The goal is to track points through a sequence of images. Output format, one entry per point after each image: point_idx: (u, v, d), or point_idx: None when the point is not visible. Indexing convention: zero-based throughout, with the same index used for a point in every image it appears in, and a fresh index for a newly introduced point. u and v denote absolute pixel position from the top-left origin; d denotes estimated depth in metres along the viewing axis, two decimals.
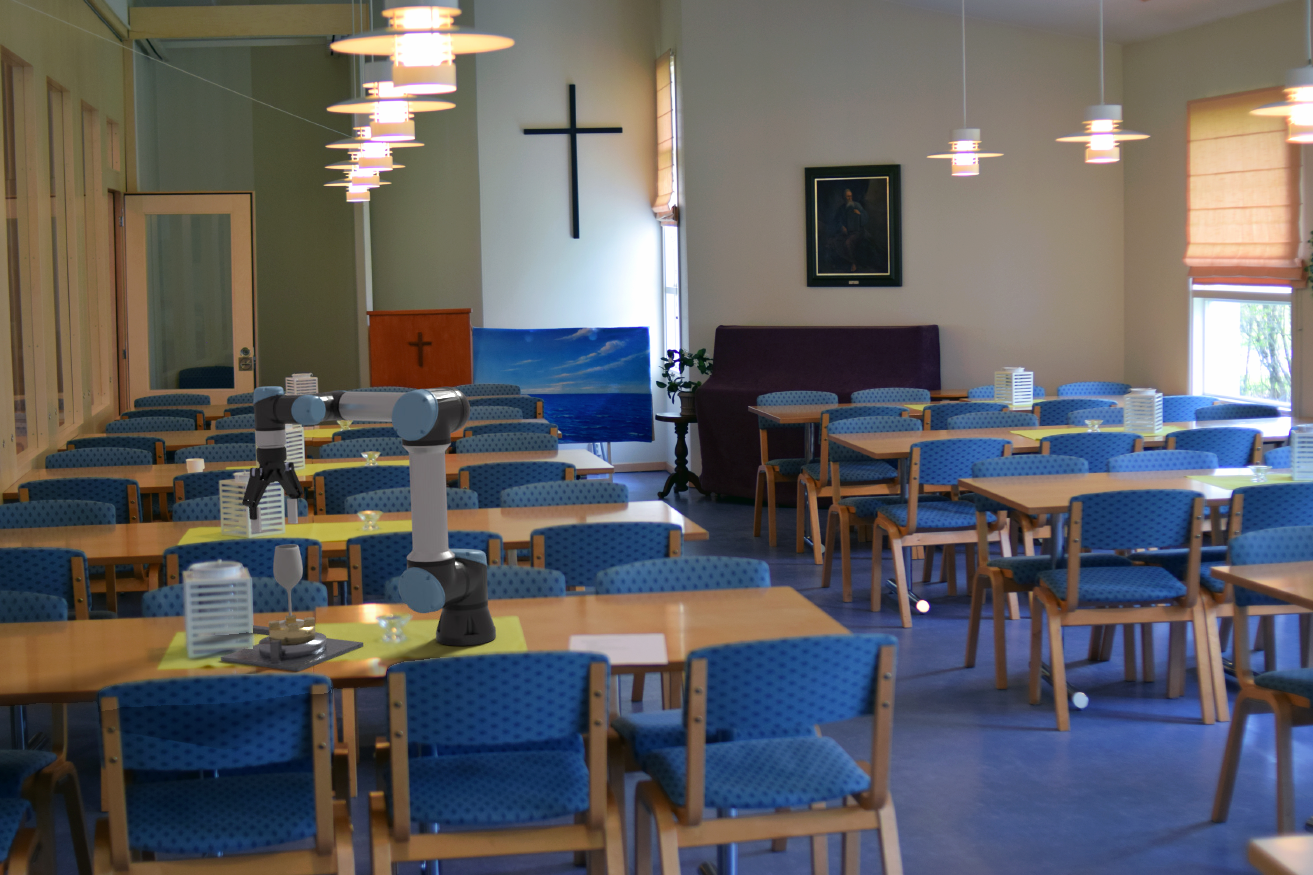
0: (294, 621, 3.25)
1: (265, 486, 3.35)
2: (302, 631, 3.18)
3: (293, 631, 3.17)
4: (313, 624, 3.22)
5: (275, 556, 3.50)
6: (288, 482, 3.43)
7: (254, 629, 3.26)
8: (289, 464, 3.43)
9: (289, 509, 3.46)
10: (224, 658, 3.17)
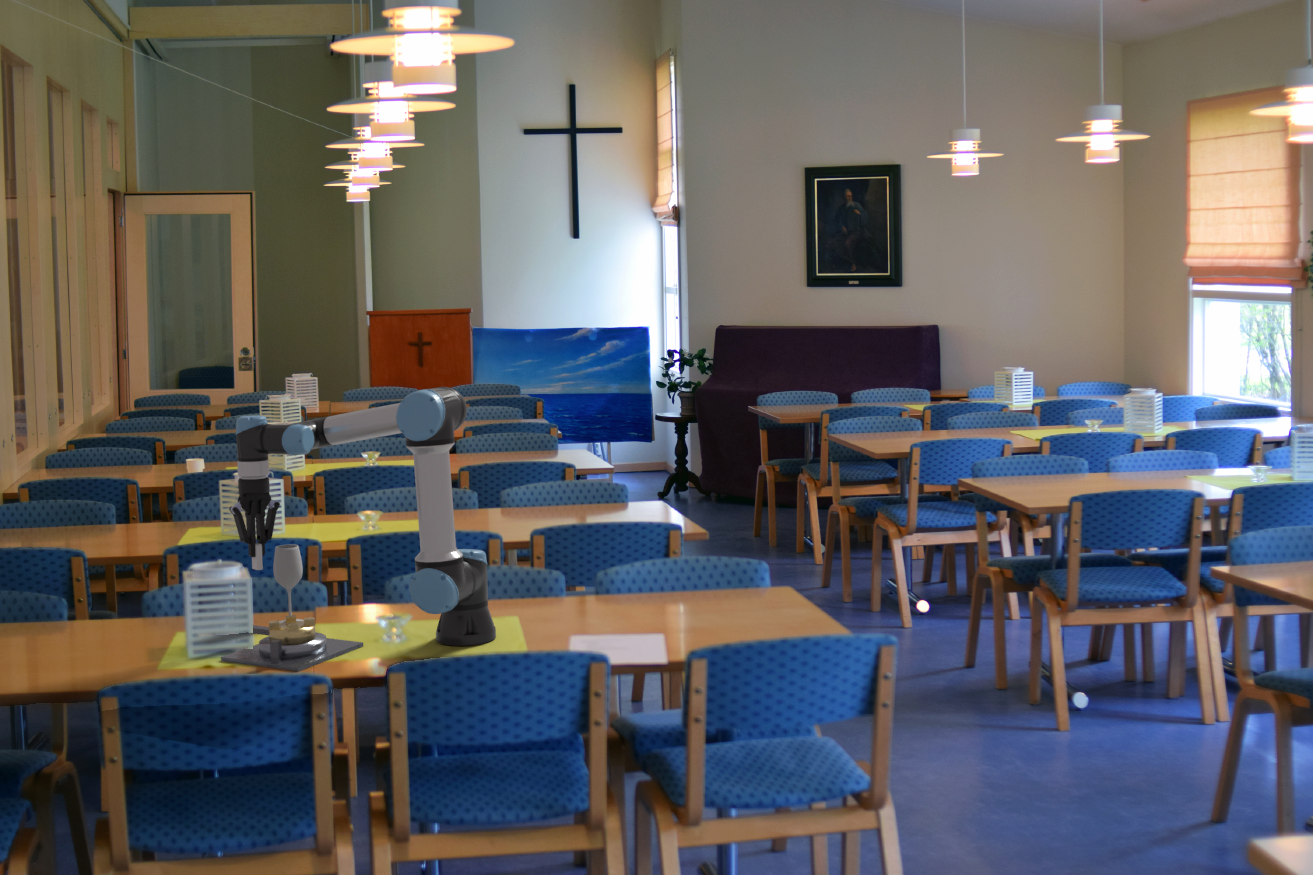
0: (294, 621, 3.25)
1: (253, 520, 3.29)
2: (302, 631, 3.18)
3: (293, 631, 3.17)
4: (313, 624, 3.22)
5: (275, 556, 3.50)
6: (262, 520, 3.31)
7: (254, 629, 3.26)
8: (275, 502, 3.34)
9: None
10: (224, 658, 3.17)
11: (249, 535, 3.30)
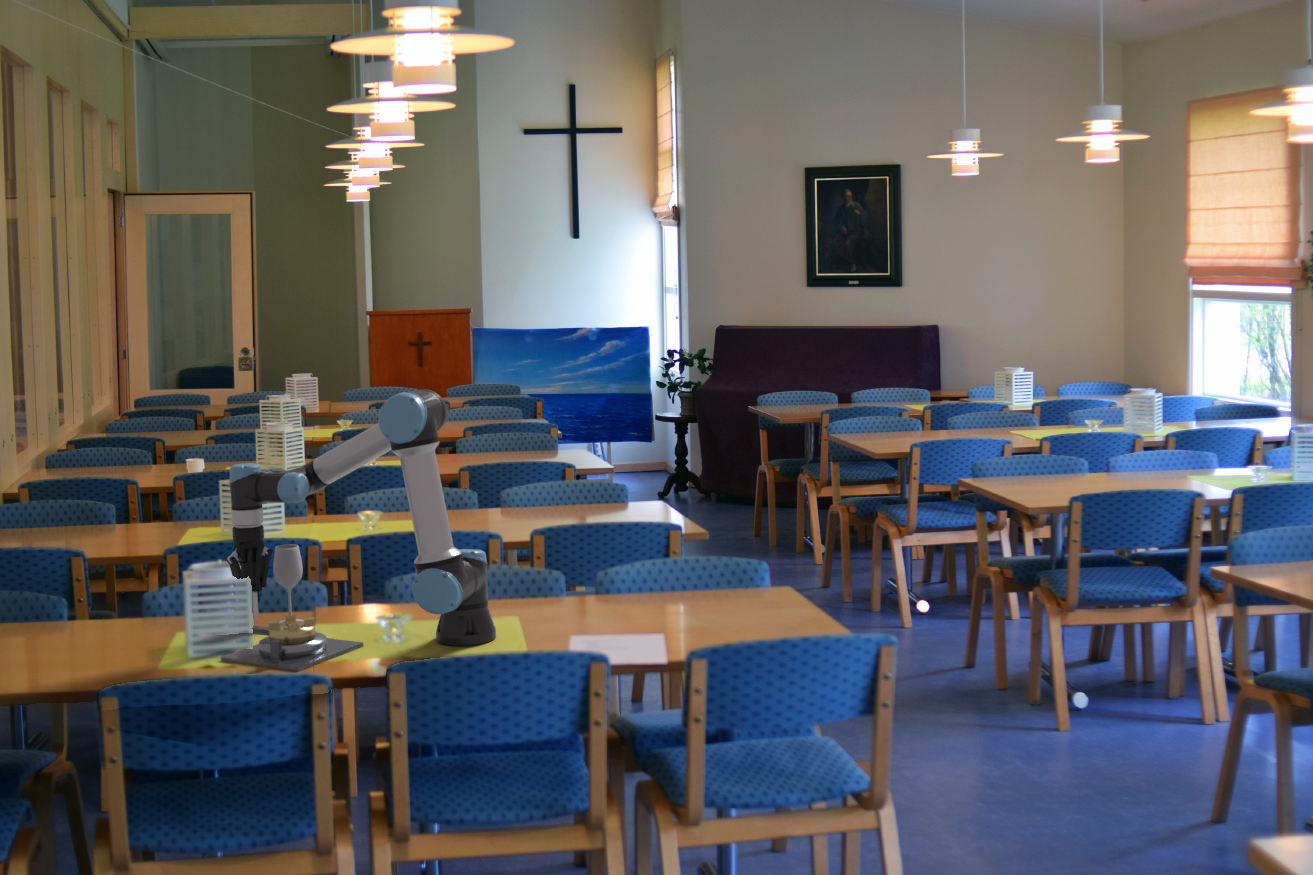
0: (294, 621, 3.25)
1: (249, 568, 3.28)
2: (303, 631, 3.18)
3: (293, 631, 3.17)
4: (313, 624, 3.23)
5: (275, 556, 3.50)
6: (257, 568, 3.31)
7: (253, 629, 3.26)
8: (268, 549, 3.34)
9: None
10: (224, 658, 3.17)
11: None
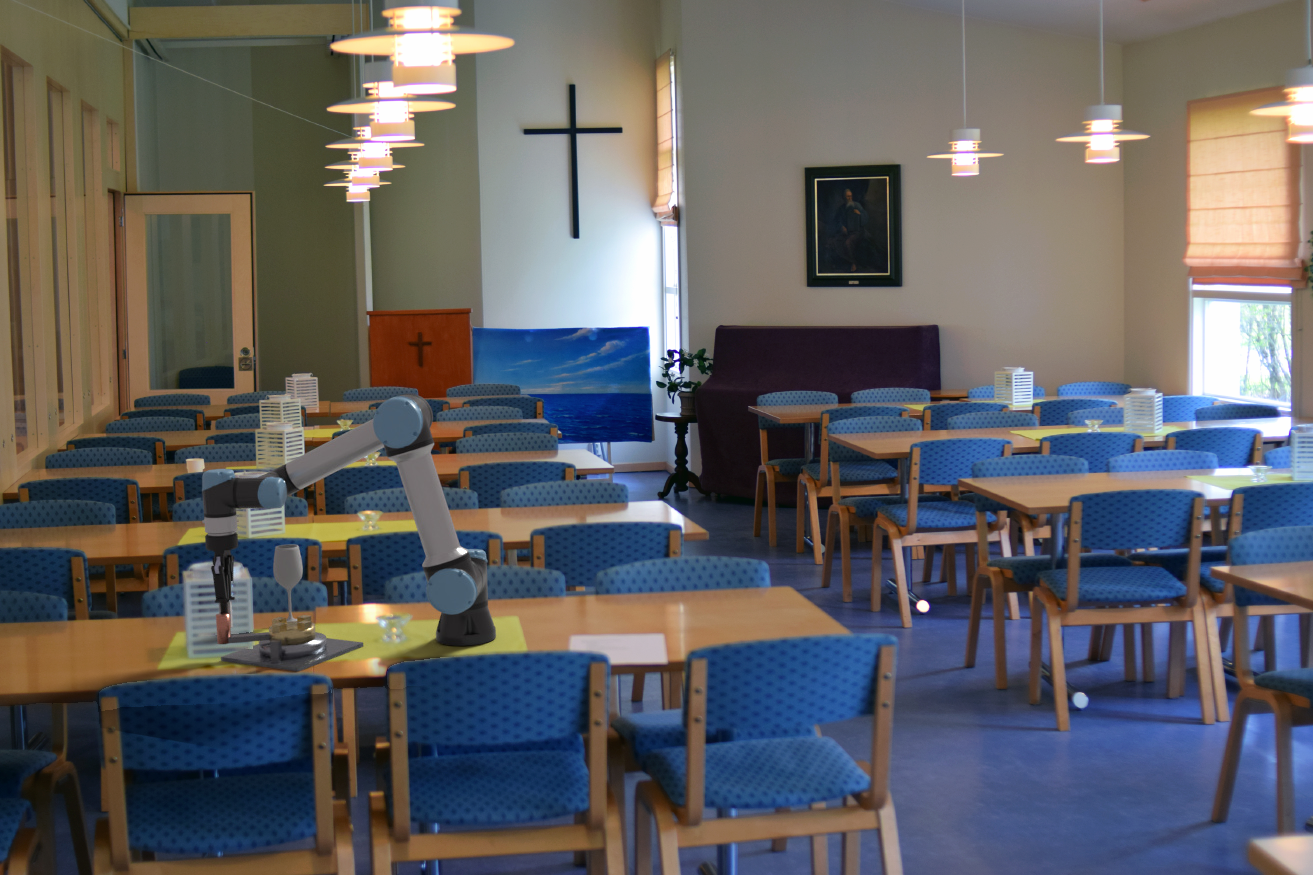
0: (285, 622, 3.24)
1: (227, 577, 3.19)
2: (313, 627, 3.21)
3: (307, 628, 3.19)
4: (310, 621, 3.26)
5: (275, 556, 3.50)
6: (230, 576, 3.21)
7: (245, 637, 3.18)
8: None
9: None
10: (224, 658, 3.17)
11: None
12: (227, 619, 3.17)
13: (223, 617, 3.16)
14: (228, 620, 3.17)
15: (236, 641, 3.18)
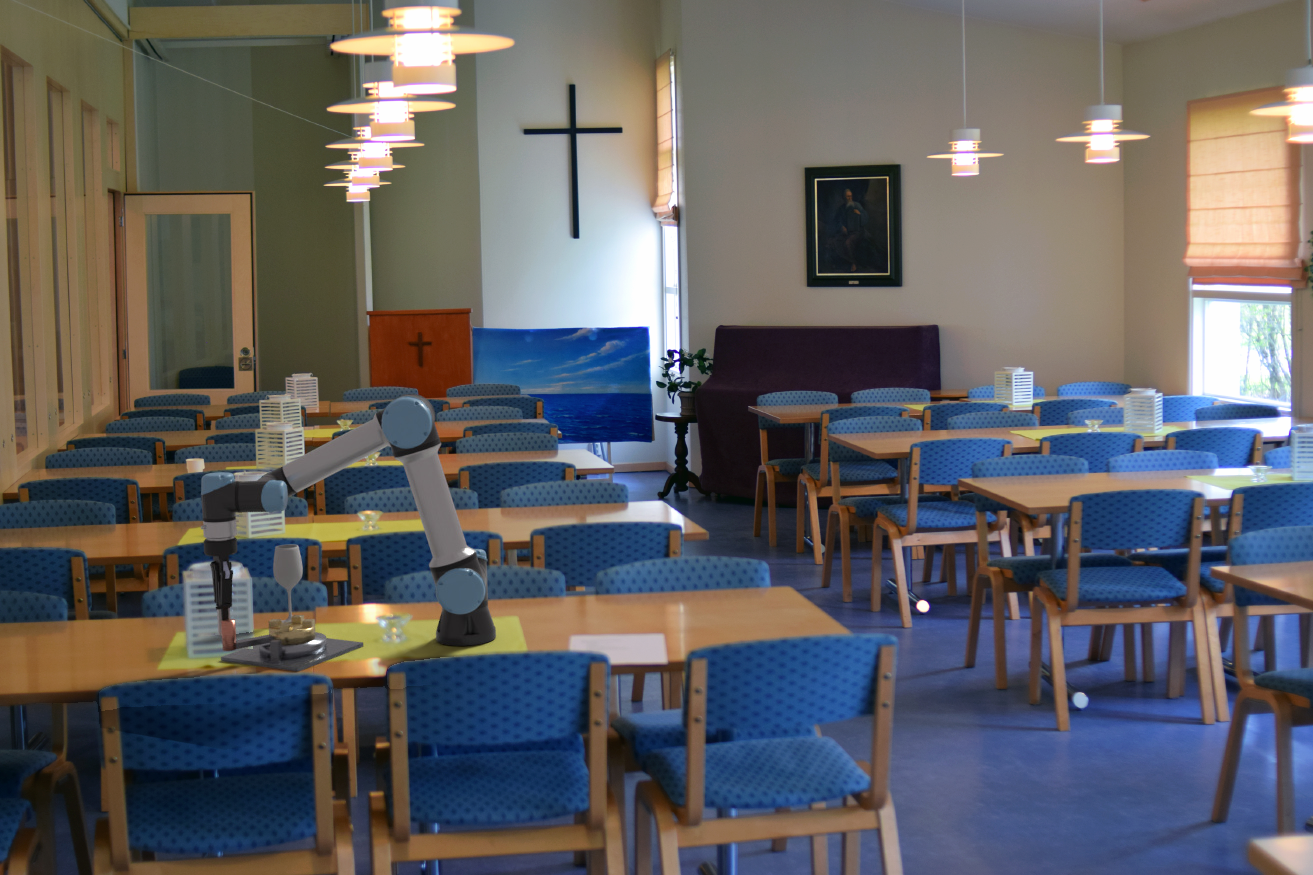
0: (281, 623, 3.23)
1: None
2: None
3: (313, 626, 3.21)
4: (303, 620, 3.27)
5: (275, 556, 3.50)
6: None
7: (251, 641, 3.14)
8: None
9: None
10: (224, 658, 3.17)
11: None
12: (234, 624, 3.11)
13: (231, 623, 3.10)
14: (235, 625, 3.11)
15: (243, 646, 3.13)
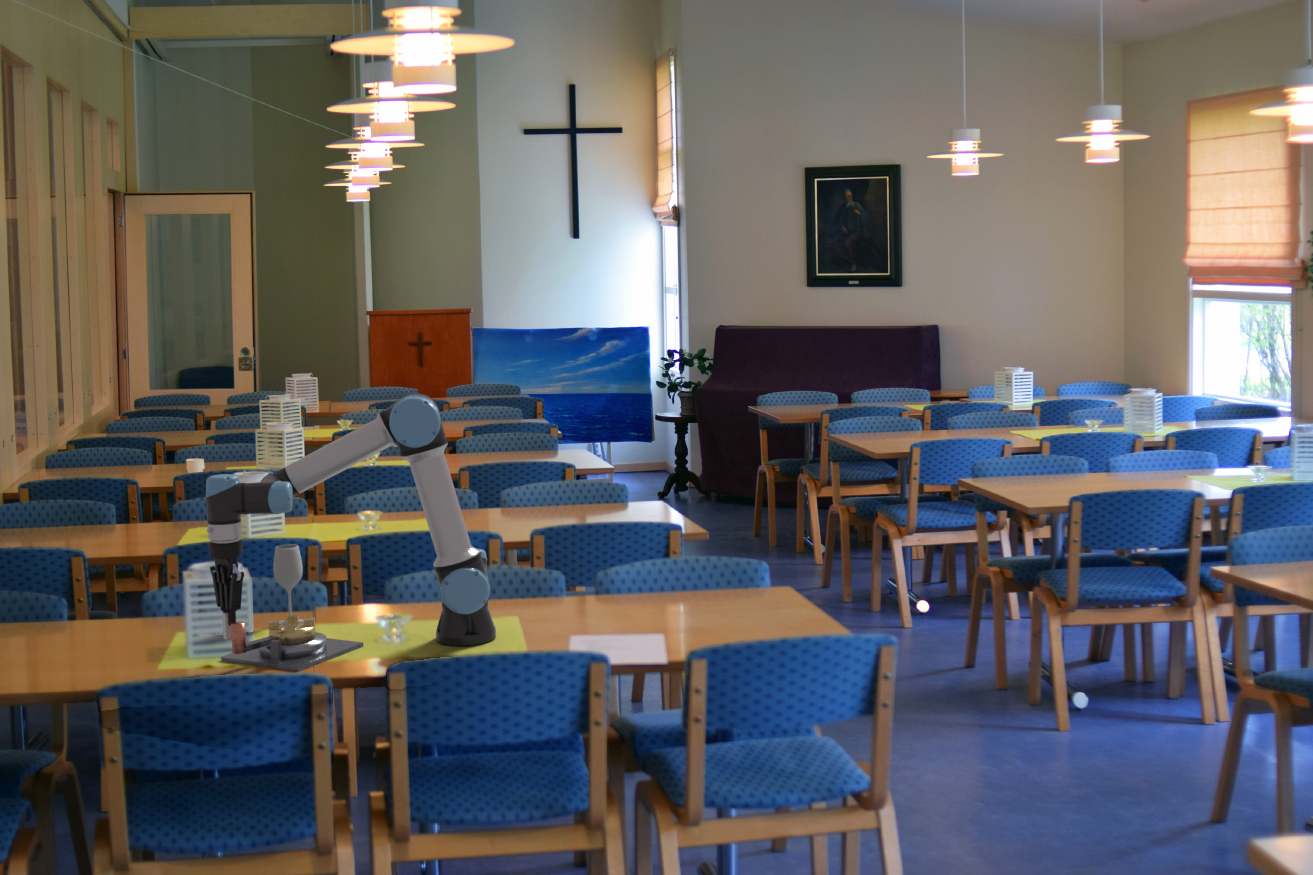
0: (279, 624, 3.22)
1: None
2: None
3: (314, 625, 3.23)
4: (298, 620, 3.27)
5: (275, 556, 3.50)
6: None
7: (259, 643, 3.12)
8: None
9: None
10: (224, 658, 3.17)
11: None
12: None
13: (243, 625, 3.08)
14: None
15: (252, 648, 3.11)
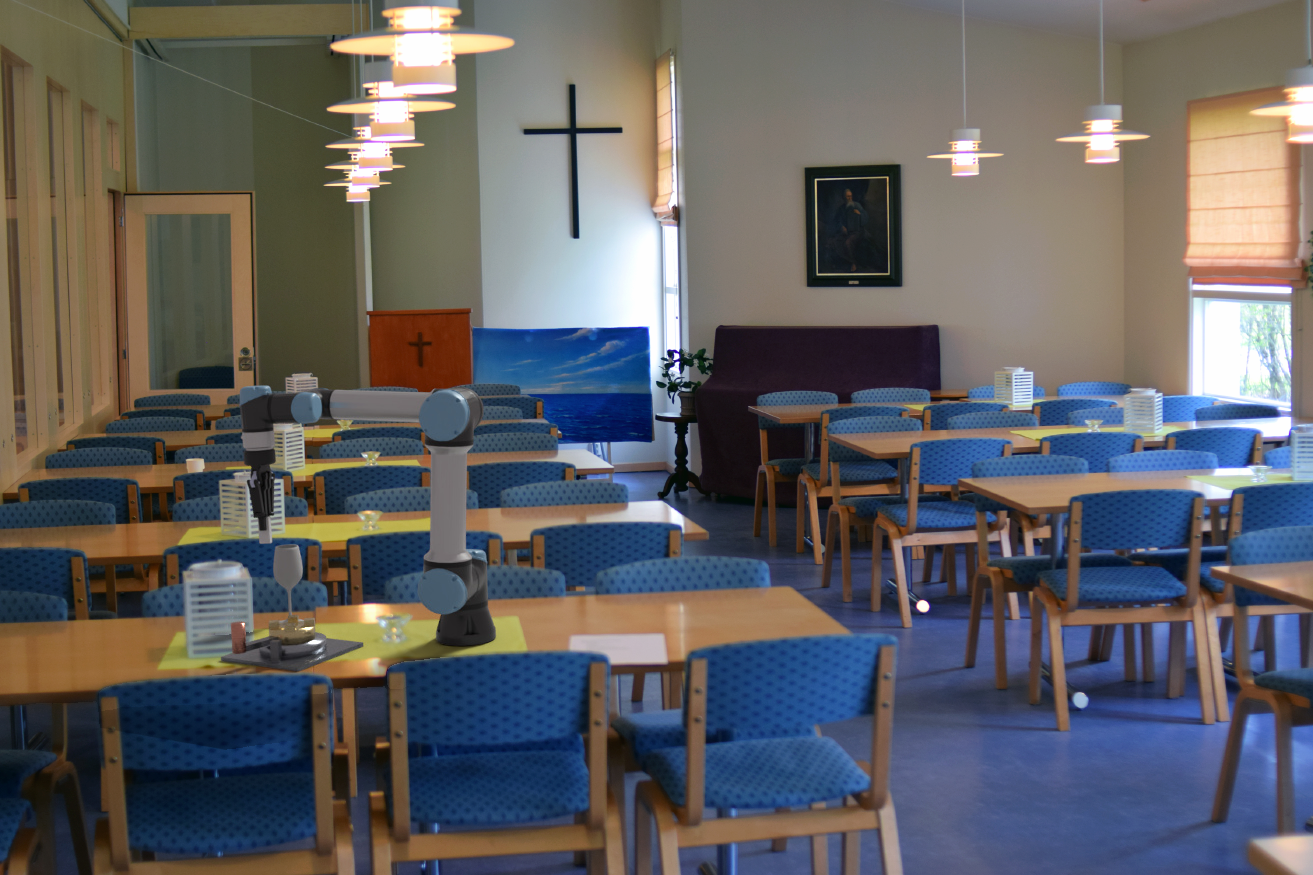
0: (279, 624, 3.22)
1: (265, 492, 3.22)
2: None
3: (314, 625, 3.23)
4: (298, 620, 3.27)
5: (275, 556, 3.50)
6: (269, 492, 3.25)
7: (259, 643, 3.12)
8: (272, 474, 3.28)
9: None
10: (224, 658, 3.17)
11: None
12: None
13: (243, 625, 3.08)
14: None
15: (252, 648, 3.11)
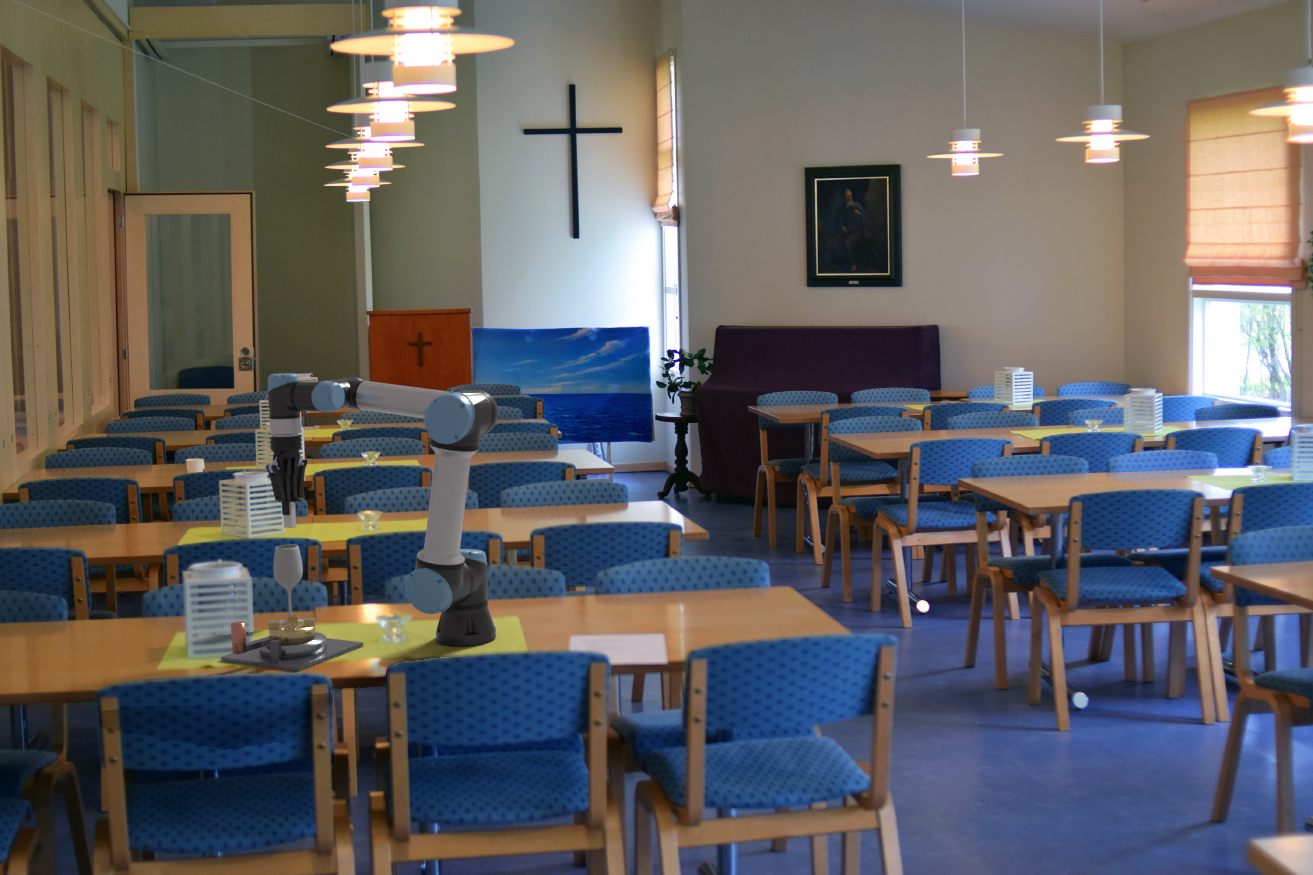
0: (279, 624, 3.22)
1: (288, 478, 3.29)
2: None
3: (314, 625, 3.23)
4: (298, 620, 3.27)
5: (275, 556, 3.50)
6: (295, 478, 3.31)
7: (259, 643, 3.12)
8: (303, 460, 3.35)
9: None
10: (224, 658, 3.17)
11: None
12: None
13: (243, 625, 3.08)
14: None
15: (252, 648, 3.11)
